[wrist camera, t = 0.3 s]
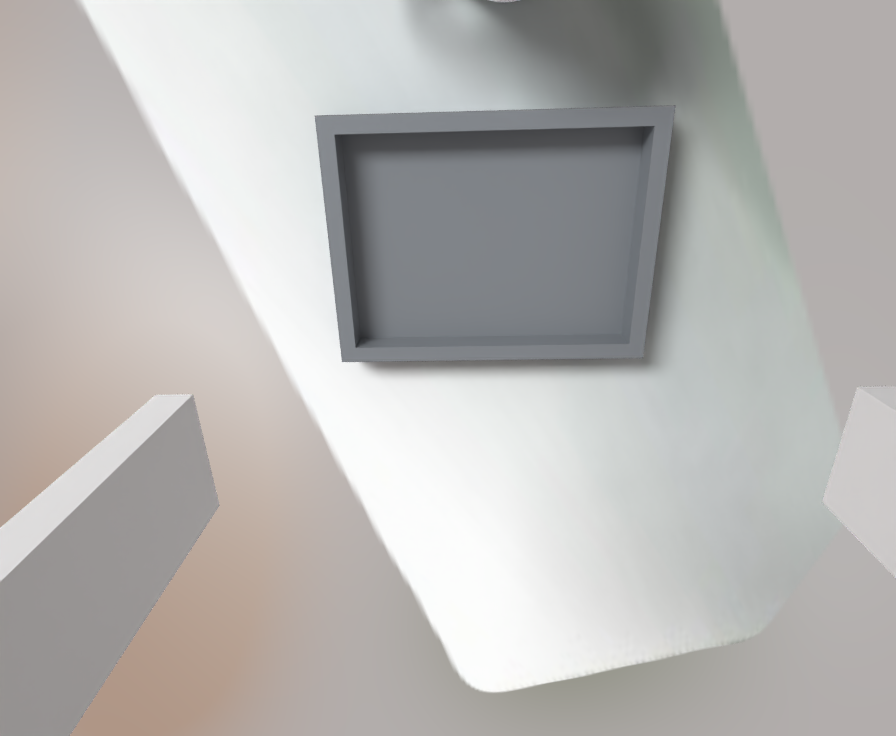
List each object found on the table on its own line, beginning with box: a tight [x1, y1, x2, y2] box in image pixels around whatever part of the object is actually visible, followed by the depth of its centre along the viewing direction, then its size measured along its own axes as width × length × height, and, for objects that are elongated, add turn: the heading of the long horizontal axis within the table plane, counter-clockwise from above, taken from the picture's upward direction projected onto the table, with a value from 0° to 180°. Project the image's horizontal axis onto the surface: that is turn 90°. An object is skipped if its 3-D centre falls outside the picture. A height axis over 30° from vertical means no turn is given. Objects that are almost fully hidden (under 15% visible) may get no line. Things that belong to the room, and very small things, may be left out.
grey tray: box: [315, 106, 675, 362], centre depth 34 cm, size 15×20×2 cm
